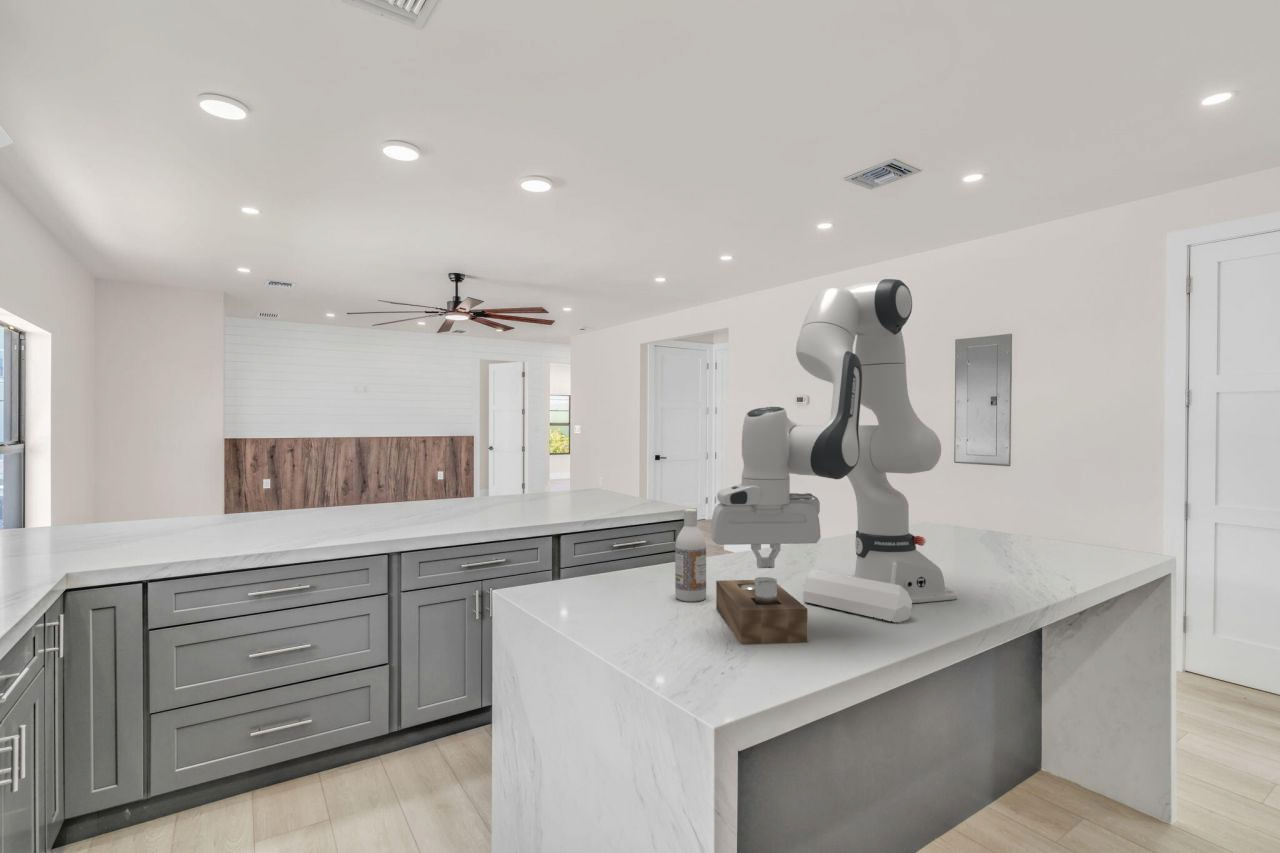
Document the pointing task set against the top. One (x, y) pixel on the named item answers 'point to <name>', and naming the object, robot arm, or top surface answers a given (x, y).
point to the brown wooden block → (760, 615)
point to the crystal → (857, 595)
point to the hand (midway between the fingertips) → (765, 567)
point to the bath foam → (690, 560)
